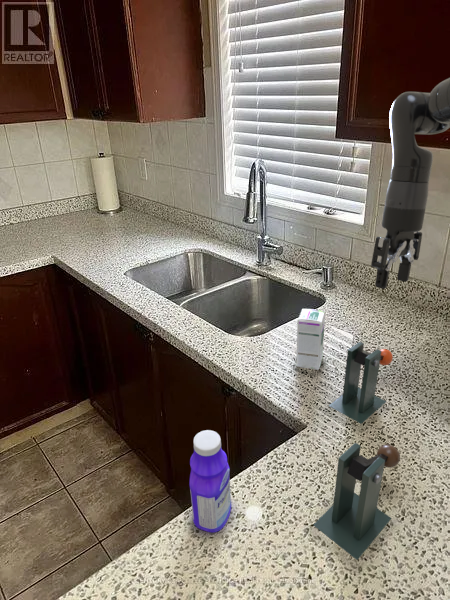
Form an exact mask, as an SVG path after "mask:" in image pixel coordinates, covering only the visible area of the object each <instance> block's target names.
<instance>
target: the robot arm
mask: <svg viewBox="0 0 450 600" xmlns="http://www.w3.org/2000/svg"><path fill="white" fill-rule="evenodd" d="M389 129H390V138H391V146H392V147H391V148H392V163H391V170H390V177H389V182H388V186H387V189H386V195H385V199H384V207H383V212H382V213H383V214H382V221H381V227H382V228H383V229H385V230H386V234H385V237H382V236H376V238H375V242H374V246H373V252H372V257H371V263H370V266H371V267H372V268H375V269H376V276H375V283H374V286H375V287H376V288H379V289H381V290H382V289H383V290H384V289H387V287H388V283H389V276H390V269H391V267H392V265H393V264H394V263H396V262H397V261H398V260H399V261H400V262H399V265H398V270H397V275H396V276H397V277H396V279H397V281H400V282H403V283H404V282H405V283H406V282H408V281H409V280H410V274H411V268H412V265H413V264H414V263H415V261H418V260H419V257H420V252H421V246H422V245H421V244H422V240H423V239H422V238H423V232H421V231H422V229H423V226H424V220H425V214H426V209H427V203H428V198H429V185H430V180H431V179H430V178H431V174H432V167H433V162H434V154H433V152H432V151H431V150H430V149H428V148H424V147H421V146H419V145H418V143H417V141H416V136H415V135H425V136H426V135H428V136H429V135H437V134H440V133H444V132H446V131H447V130H449V129H450V77H448V78H446V79H444V80H442V81H441V82H439V83H438V84H436V85H435V86H434V88H432V90H431V91H430V92H422V91H405V92H403V93H401V94H399V95H398V96H397V97H396V98H395V99H394V101H393V103H392V105H391V108H390V110H389Z"/></svg>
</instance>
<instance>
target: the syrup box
mask: <svg viewBox="0 0 450 600" xmlns="http://www.w3.org/2000/svg"><path fill="white" fill-rule="evenodd" d="M325 322H326V311H325V310H322V309H321V310H320V309H316V308H315V309H313V308H302V309H301V310H300V313H299V315H298V318H297V329H296V358H295V366H296V367H297V368H303V369H310V370H317V371H319V370H320V369H321V366H322V363H323V362H322V361H323V357H324V356H323V355H324V339H325V324H326V323H325Z"/></svg>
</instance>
